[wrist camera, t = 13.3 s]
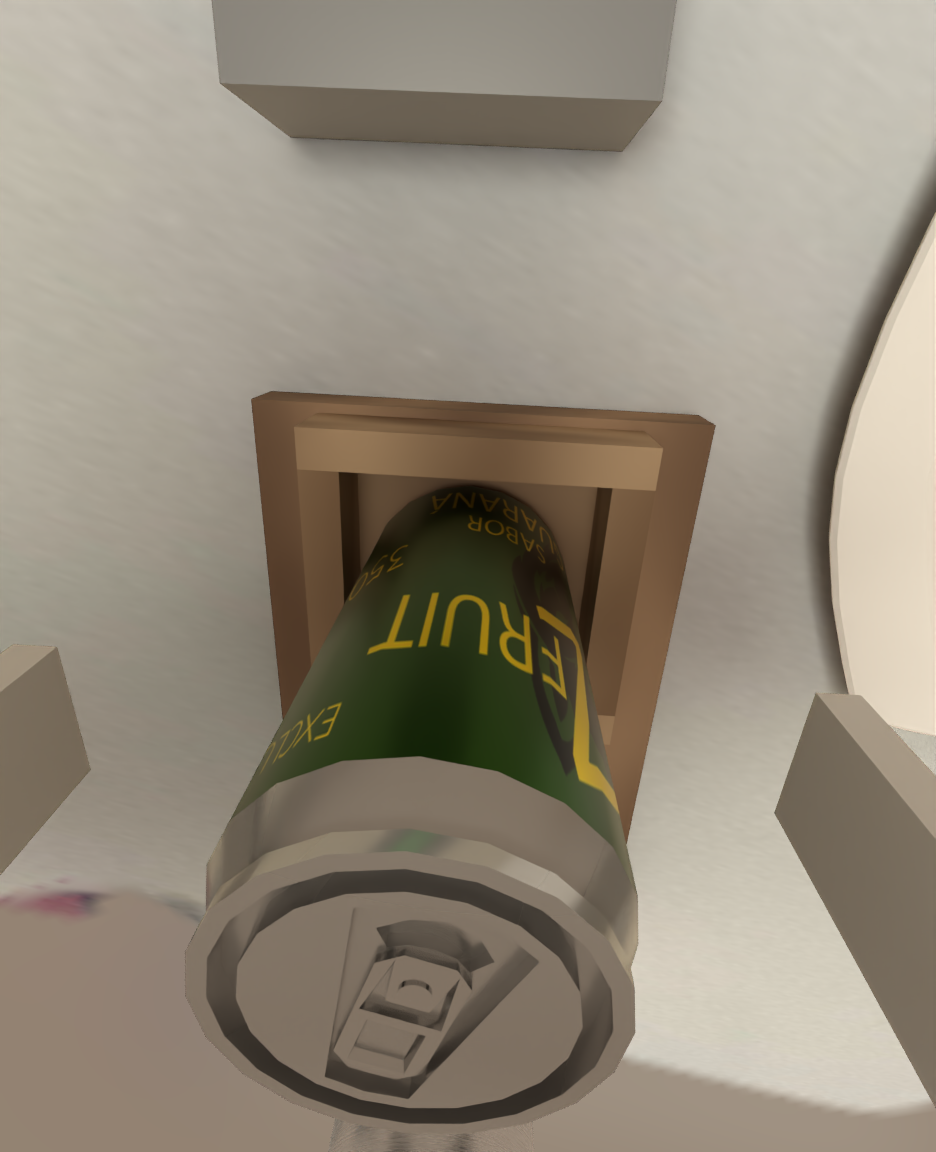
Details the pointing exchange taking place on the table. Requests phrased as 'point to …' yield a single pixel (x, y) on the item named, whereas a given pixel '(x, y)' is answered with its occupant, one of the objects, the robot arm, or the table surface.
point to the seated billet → (429, 1140)
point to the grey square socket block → (449, 68)
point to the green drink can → (430, 849)
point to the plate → (891, 513)
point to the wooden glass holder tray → (505, 464)
